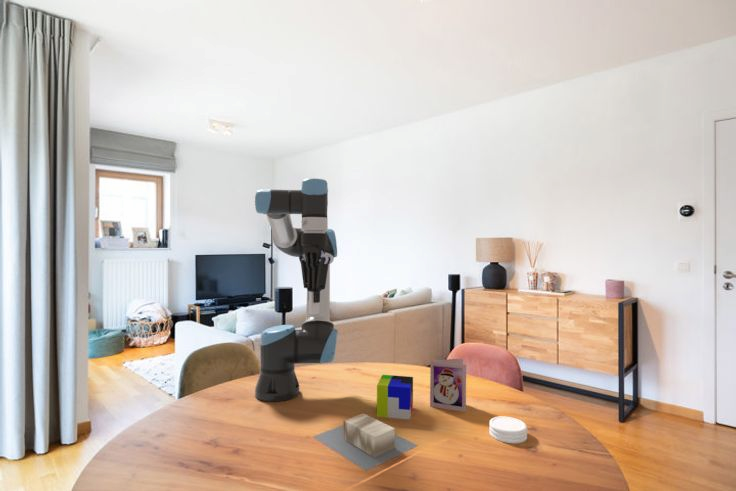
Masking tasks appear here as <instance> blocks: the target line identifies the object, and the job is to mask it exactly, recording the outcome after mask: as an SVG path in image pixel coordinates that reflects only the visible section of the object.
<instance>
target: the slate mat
mask: <svg viewBox="0 0 736 491" xmlns="http://www.w3.org/2000/svg"><path fill="white" fill-rule="evenodd" d="M312 438H314V439H315V440H317V441H319V442H321V443H322V444H323V445H325V446H326V447H328V448H329V449H331V450H333V451H334V452H335V453H338V454H339V455H341V456H342V457H344V458H345V459H346V460H348V461H350V462H351V463H353V464H355V465H356V466H357V467H359V468H361V469H362V470H364V471H365V472H368V471H370V470H372V469H374V468H376V467H377V466H380V465H382V464H384V463H386V462H388V461H390V460H392V459H394V458H395V457H397V456H400V455H402V454H403V453H406V452H408V451H410V450H412V449H414V448H416V447H418V446H419V445H418V444H417V443H414V442H412V441H410V440H408V439H406V438H403V437H402V436H400V435H398V434H396V433H395V448H393V449H391V450H389V451H387V452H385V453H382V454H380V455H378V456H376V457H373V456H372V455H370V454H368V453H367V452H365V451H363V450H361V449H360V448H358V447H356V446H355V445H353V444H351V443H350V442H348V441H346V440H344V424H343V425H340V426H337V427H335V428H331V429H329V430H326V431H324V432H322V433H319V434H315V435H313V436H312Z"/></svg>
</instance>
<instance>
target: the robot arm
mask: <svg viewBox="0 0 736 491" xmlns="http://www.w3.org/2000/svg"><path fill="white" fill-rule="evenodd" d="M328 194H329V189H328V182H327V180H326V179H323V178H314V177H313V178H305V179H303V180H302V181H301V189H269V188H268V189H267V188H266V189H259V190H257V191H256V192H255V197H254V206H255V211H256V213H257V214H261V215H266V216H267V220H268V223H269V226H270V229H271V231H272V233H271V239H272V240H271V241H272V243H273V244H274V246H275V247H276V248H277V249H278V250H279V251H281V252H282V253H284V254H286V255H288V256H291V257H293V258H294V257H295V258H299V262H300V267H301V268H300V269H301V275H302V277H301V278H302V284H303V288H304V289H306V310H305V312H306V313H305V314H306V315H305V321H303V322H302V324H301V329H296V327H295V325H294V324H283V325H275V326H271V327H268V328H266V329H264V330H263V331H262V332H261V335H260V343H259V346H260V369H259V370H260V372H259V376H258V379H257V382H256V386H255V389H254V396H255V398H256V399H258V400H260V401H264V402H283V401H288V400H291V399H294V398H295V397H297V396H298V395H299V394H300V383H299V381H298V377H297V375H296V371H295V364H298V365H299V364H303V365H304V364H320V365H321V364H327V363H329V364H330V363H332V362H334V360H335V356H336V349H337V342H338V333H339V330H338V329H336V328H335V324H334V323H333V322H332V321H331V320H330V318H331V317H330V315H331V314H330V313H331V312H330V311H331V310H330V309H331V307H330V306H331V305H330V304H331V301H330V300H331V291H330V290H331V289H330V288H331V283H330V282H331V281H330V280H331V279H330V278H331V275H330V274H331V264H332V263H333V262H334V260H335V259H334V258H337V257H338V246H337V236H336V232H335V230H333V229H332V228H329V227H328V226H329V225H328V222H329V221H328V205H329V204H328V203H329V202H328V201H329V200H328V199H329V198H328ZM291 215H301V222H300V223H301V227H299V228H297V227H294V226H293V222H292V218H291Z"/></svg>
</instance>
